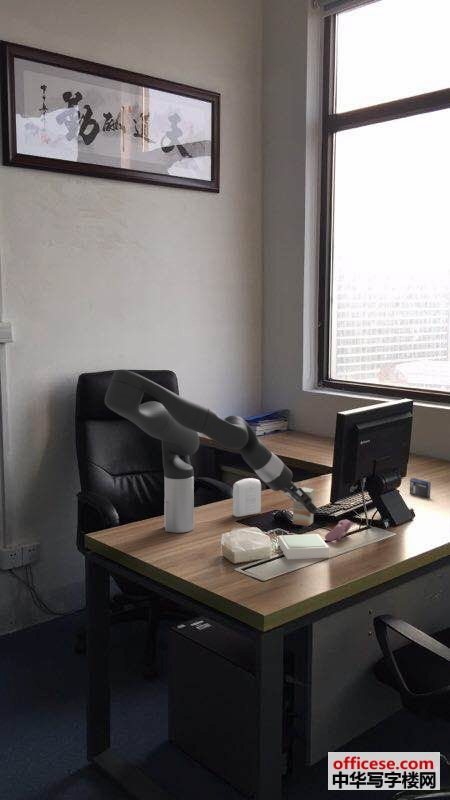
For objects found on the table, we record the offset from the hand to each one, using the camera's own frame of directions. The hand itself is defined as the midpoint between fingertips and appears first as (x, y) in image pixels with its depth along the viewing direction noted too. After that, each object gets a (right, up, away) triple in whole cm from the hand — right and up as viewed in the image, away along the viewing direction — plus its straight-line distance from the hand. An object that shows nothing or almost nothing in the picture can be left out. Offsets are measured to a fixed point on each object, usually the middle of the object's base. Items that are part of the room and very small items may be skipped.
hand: (308, 507), depth 208 cm
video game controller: (+11, -12, +14) cm, 21 cm away
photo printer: (-17, -8, +39) cm, 43 cm away
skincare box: (-2, -5, 0) cm, 5 cm away
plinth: (-1, -13, +2) cm, 13 cm away
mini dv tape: (+49, -5, +62) cm, 79 cm away
